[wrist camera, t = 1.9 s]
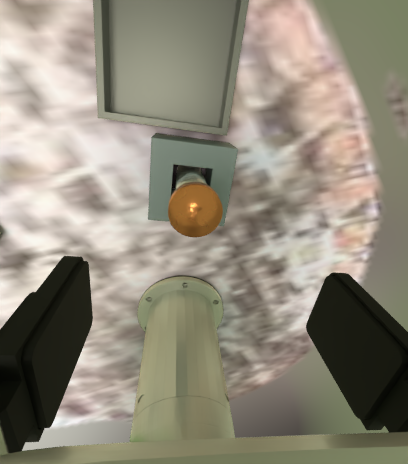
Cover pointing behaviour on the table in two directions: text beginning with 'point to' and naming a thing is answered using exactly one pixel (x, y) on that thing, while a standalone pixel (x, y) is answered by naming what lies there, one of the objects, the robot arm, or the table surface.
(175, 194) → the pin
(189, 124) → the parts tray
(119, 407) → the table surface
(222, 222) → the block
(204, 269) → the table surface
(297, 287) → the table surface
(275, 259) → the table surface
